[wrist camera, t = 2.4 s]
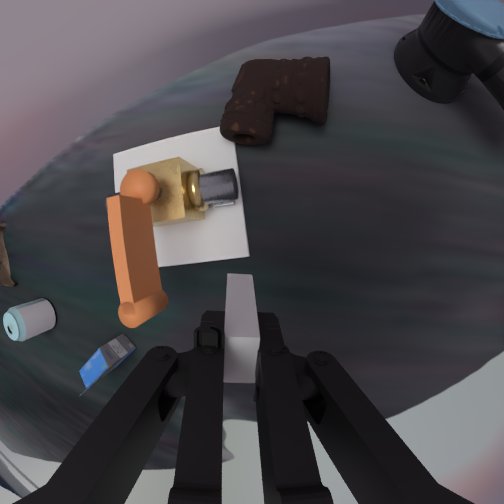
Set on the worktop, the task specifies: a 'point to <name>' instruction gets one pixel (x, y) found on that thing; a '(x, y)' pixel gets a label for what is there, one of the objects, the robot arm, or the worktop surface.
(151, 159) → the mount board
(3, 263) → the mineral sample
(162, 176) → the valve
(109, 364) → the label tape cartridge
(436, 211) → the worktop surface
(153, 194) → the lever
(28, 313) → the can
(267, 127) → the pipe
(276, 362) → the robot arm
